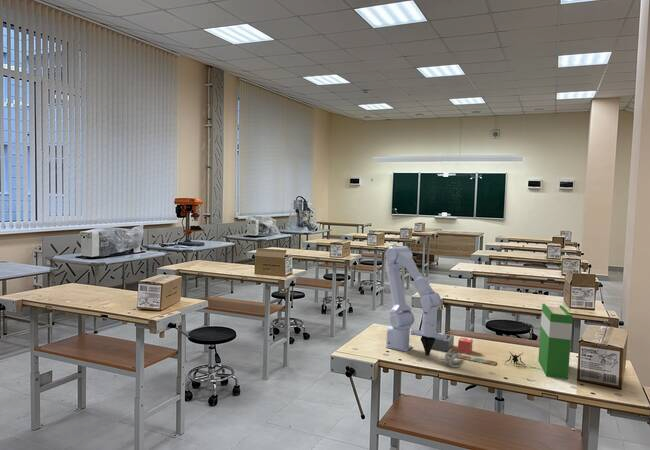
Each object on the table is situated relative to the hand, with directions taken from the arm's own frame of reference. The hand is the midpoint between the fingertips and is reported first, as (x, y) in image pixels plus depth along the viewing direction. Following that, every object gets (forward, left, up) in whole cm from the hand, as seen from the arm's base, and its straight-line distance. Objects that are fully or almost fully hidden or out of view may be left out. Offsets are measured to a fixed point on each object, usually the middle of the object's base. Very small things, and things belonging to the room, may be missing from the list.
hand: (427, 355), depth 187 cm
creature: (+32, +13, -2) cm, 35 cm away
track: (+15, +9, -1) cm, 18 cm away
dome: (+1, +18, -1) cm, 18 cm away
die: (+11, +18, -1) cm, 21 cm away
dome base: (0, +18, -1) cm, 18 cm away
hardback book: (+45, +16, -2) cm, 48 cm away
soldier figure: (+11, -1, -2) cm, 11 cm away
